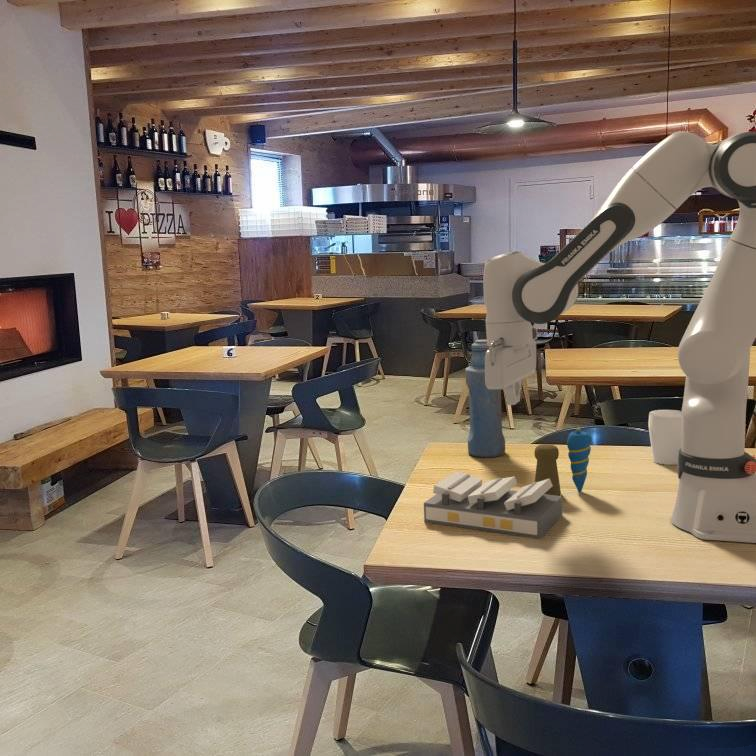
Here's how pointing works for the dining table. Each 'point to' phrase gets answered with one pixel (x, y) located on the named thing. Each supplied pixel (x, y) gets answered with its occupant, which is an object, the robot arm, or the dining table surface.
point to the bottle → (483, 408)
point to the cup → (665, 435)
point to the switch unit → (496, 514)
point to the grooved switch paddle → (458, 485)
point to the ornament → (579, 455)
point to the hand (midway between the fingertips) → (513, 403)
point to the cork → (547, 467)
